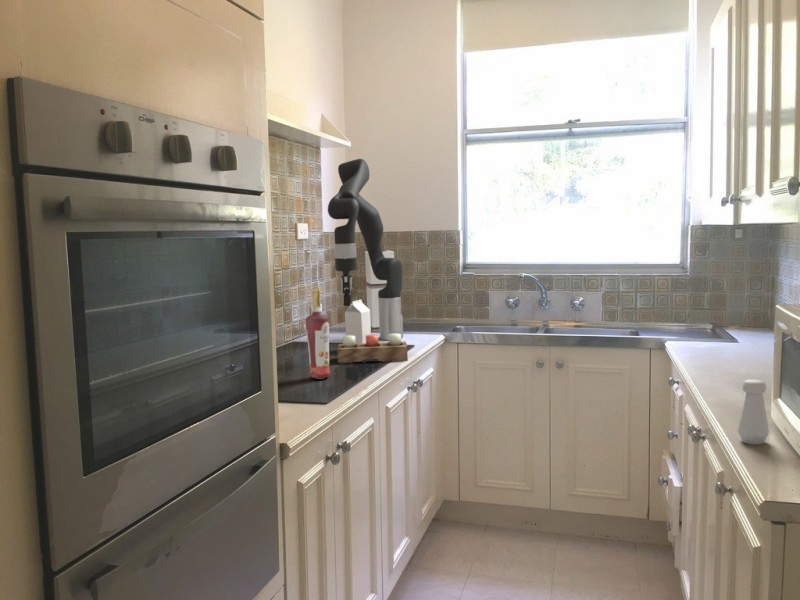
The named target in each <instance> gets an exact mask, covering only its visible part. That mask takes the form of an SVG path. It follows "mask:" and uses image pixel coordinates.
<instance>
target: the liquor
mask: <svg viewBox="0 0 800 600" xmlns="http://www.w3.org/2000/svg"><path fill="white" fill-rule="evenodd" d="M311 297H312V308H311V309H312V311H311V314H310V315H309V316H307V317H306V318H305V329H306V330H305V331H306V339H307V340H306V341H307V348H308V361H309V374H308V376H309V377H310V378H312V379H313V378H324V377H328V376H331V374H332V373H331V371H330V317H329V316H327V314H324V313H323V312H322V305H321V304H322V303H321V289H320V288H312V289H311ZM328 378H329V377H328Z"/></svg>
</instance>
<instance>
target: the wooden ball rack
mask: <svg viewBox="0 0 800 600" xmlns="http://www.w3.org/2000/svg"><path fill="white" fill-rule="evenodd" d="M378 344H379V345H378V346H366V343H356V346H355V347H343V343H339V344H338V346H337V363H338V362H349V361H352V362H353V361H363V360H367V359H378V360H379V361H382V362H383V363H384V362H385V363H386V362H406V361H407V362H408V360H409V359H408V345H407V342H406V340H404V341H402V340H401V345H389V341H383V342H382V341H381V342H379V341H378ZM382 362H381V363H382Z"/></svg>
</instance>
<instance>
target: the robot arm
mask: <svg viewBox="0 0 800 600" xmlns="http://www.w3.org/2000/svg"><path fill="white" fill-rule="evenodd" d="M337 171H338V172H337V173H338V175H339V178H340V182H341V184H342V185H341V186H340V187H339V190H338V192H337V193H336V194H335V195H334V196H333V197H332V198H331V199H330V201H329V202H328V204H327V213H328V216H329V217H330V218H331V219H333V220H348V221H347V223H346V224H344V225H340V226H336V227H335V228H334V232H333V233H334V250H333V251H334V268H335V269H334V270H335V271H337V272H342V275H340V282H341V289H342V296H343V306H345V307H349V306H350V305H351V304H352V296H351V295H352V293H351V292H352V287H353V282H352V281H353V275H351V272H354V271H356V270H357V269H358V266H357V246H356V225H358V229H359V231H360V233H361V236H362V238H363V241H364V244H365V248H366V250H367V251H368V254H369V258H370V262H371V266H372V270H373V273H374V275H375V277H376V278H377V279H379V280H387V284H386V287H385V288H383V289H381V290H379V291H378V304H379V330H380V332H379V340H382V341H389V338H388V334H393V333H398V334H401V339H403V338H404V323H403V322H404V320H403V318H404V317H403V314H402V301H401V300H402V297H401V294H402V289H403V266H402V263H401V260H399V259H398V258H397V257H394V258H385V257H384V255H383V253H382V252H383V250H382V238H383V236H384V235H383V234H384V224H383V221H382V218H381V215H380V213H379V211H378V210H377V208H376V207H375V206H373V204H371V203H370V202H368V201H367V200H366V199H364V197H362V196H361V194H360V192H361V191H362V189H363V188H364V187H365V185H366V184H367V183H368V181H369V179H370V176H371V175H370V168H369V165H368V163H367V162H366V160H365V159H363V158H357V159H353V160H350V161H349V160H348V161H347V162H343V163H340V164H339V165H338V167H337Z"/></svg>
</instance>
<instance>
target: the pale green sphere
mask: <svg viewBox="0 0 800 600" xmlns="http://www.w3.org/2000/svg"><path fill="white" fill-rule="evenodd" d="M342 344H343V347H355V346H356V340H355V336H354V335H347V336H346V335H343V336H342Z"/></svg>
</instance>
